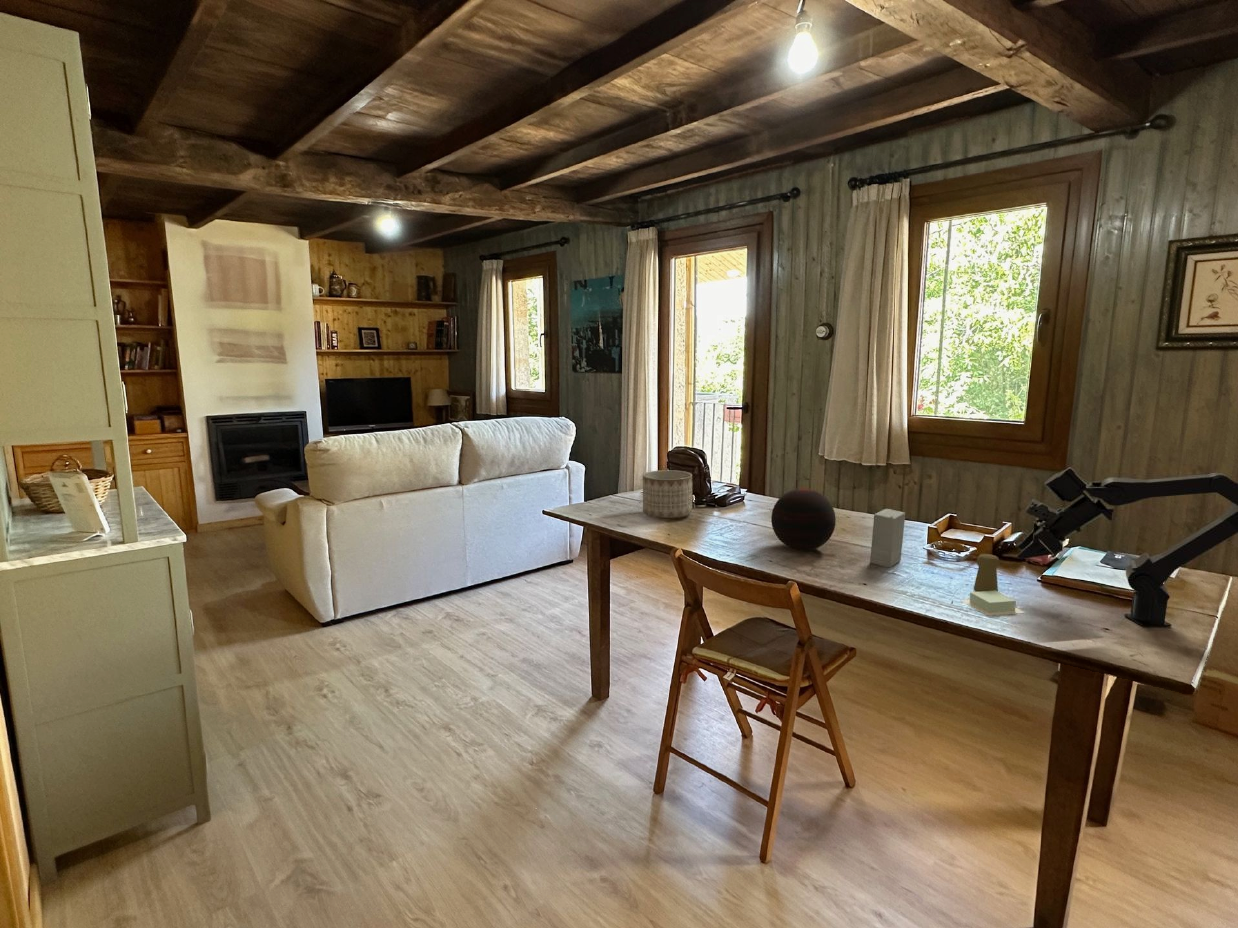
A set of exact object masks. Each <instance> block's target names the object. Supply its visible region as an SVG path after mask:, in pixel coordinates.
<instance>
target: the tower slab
mask: <svg viewBox="0 0 1238 928" xmlns="http://www.w3.org/2000/svg"><path fill="white" fill-rule="evenodd" d="M960 601H961V602H963V603H965V604H966V605H967V606H968V607H969V606H970V607H972V608H973V609H975V610H977V611H978V612H979V613H982V614H983V615H985V616H1001V615H1002V616H1003V615H1014V614H1025V613H1026V612H1025V611H1023V610H1022V609H1019V608H1017V607H1015V611H1003V612H990V613H988V612H987V611H985V610H983V609H981V608H980V607H978V606H976V605H974V604H973V603H971V602H970V598H968V599H960Z"/></svg>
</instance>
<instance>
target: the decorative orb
mask: <svg viewBox="0 0 1238 928" xmlns="http://www.w3.org/2000/svg"><path fill="white" fill-rule="evenodd" d="M836 517H837V516H836V513H835V509H834V508H833V505H832V504H831V502H830V501H829V499H828V498H827V497H826V496H825V495H823V494H822V493H820V492H818V491H816V490H814V489H811V488H795V489H792V490H789V491H788V492H786V493H784V494H782V495H781V496H780V497H779V499H778V500H777V501H776V503H775V504H774V506H773V508H772V511H771V516H770V518H771V519H770V520H771V521H770V522H771V526H772V530H773V532H774V534H775V536H776V537H777V539H778V540H779V541H780V542H781V543H782V544H783V545H784V546H786V547H788V548H791V549H792V550H796V551H802V552H803V551H804V552H806V551H807V552H808V551H813V550H816V549H819V548H820V547H822V546H824V544H826V543H827V542H828V541H829V540H830V539H831V537H832V535H833V533H834V531H835V528H836V522H837V521H836Z"/></svg>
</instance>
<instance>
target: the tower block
mask: <svg viewBox="0 0 1238 928" xmlns="http://www.w3.org/2000/svg"><path fill="white" fill-rule="evenodd" d="M969 599H970V602H971V603H973V604H974V605H976V606H978V607H980V608H981V609H983V610H985V611H987V612H988V613H990V612H1003V611H1015V607H1016V605H1017V600H1015V599H1013V598H1012V597H1009V596H1008V595H1005V594H1004V593H1002V592H1000V591H999V590H998V591H996V590H995V591H982V592H977V591H970V593H969ZM1016 608H1017V607H1016Z"/></svg>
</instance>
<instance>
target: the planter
mask: <svg viewBox="0 0 1238 928" xmlns="http://www.w3.org/2000/svg"><path fill="white" fill-rule="evenodd" d="M642 512H643V514H645V515H646V516H649V517H652V518H657V519H660V520H661V519H662V520H673V519H678V518H682V517H683V518H684V517H687V516H689V515H691V513H693V474H692V472H688V471H684V470H675V469H674V470H672V469H670V470H669V469H668V470H667V469H665V470H664V469H663V470H662V469H660V470H652V471H651V470H650V471H647V472H644V473H642Z"/></svg>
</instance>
